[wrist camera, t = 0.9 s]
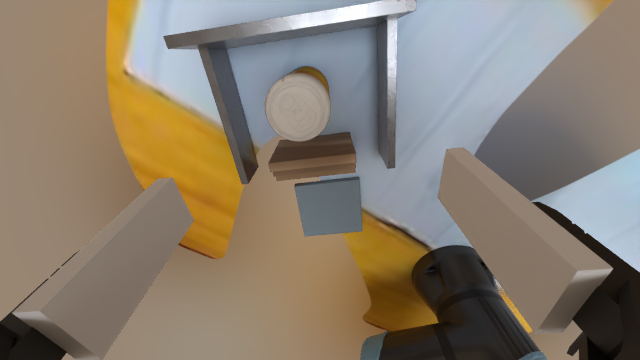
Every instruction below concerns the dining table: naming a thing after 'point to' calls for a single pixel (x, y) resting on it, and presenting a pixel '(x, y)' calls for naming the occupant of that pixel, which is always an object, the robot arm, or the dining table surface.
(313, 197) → the mat
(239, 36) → the grey open frame
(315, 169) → the offcuts
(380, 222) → the dining table surface
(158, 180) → the robot arm
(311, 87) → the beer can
